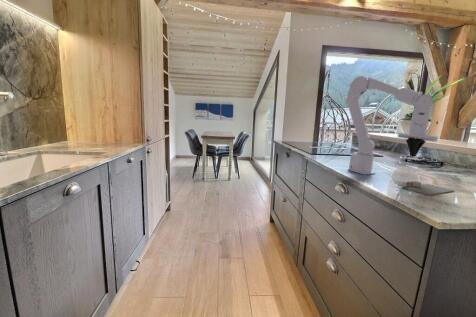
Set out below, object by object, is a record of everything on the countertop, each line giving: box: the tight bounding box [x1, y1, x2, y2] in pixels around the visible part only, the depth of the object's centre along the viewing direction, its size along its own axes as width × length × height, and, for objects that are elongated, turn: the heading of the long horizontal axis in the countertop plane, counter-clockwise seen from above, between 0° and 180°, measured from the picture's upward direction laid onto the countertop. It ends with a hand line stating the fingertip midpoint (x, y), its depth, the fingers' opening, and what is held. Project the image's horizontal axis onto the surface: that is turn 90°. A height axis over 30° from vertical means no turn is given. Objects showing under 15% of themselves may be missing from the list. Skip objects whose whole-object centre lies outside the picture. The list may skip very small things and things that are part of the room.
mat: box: [401, 183, 455, 196], centre depth 91 cm, size 9×16×1 cm, turn 114°
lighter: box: [401, 179, 422, 187], centre depth 94 cm, size 7×2×8 cm
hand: (412, 156), depth 103 cm, fingers closed
